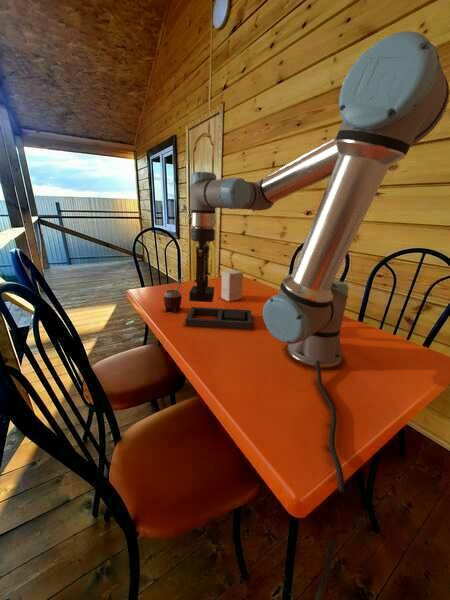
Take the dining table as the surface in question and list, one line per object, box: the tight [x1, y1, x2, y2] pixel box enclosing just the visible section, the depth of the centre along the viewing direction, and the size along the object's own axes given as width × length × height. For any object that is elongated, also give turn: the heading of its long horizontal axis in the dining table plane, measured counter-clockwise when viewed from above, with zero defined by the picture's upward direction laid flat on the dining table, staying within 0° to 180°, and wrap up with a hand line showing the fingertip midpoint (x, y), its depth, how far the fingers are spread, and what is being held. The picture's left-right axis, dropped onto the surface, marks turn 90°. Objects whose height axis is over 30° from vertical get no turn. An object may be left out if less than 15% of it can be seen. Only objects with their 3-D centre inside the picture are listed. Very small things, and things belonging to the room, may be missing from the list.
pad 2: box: [223, 310, 246, 321], centre depth 96 cm, size 8×8×3 cm
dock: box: [185, 306, 253, 331], centre depth 96 cm, size 13×24×2 cm, turn 87°
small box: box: [220, 269, 244, 302], centre depth 120 cm, size 8×6×13 cm
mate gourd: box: [163, 275, 187, 314], centre depth 102 cm, size 8×8×15 cm
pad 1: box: [188, 285, 215, 303], centre depth 86 cm, size 8×8×3 cm
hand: (202, 297), depth 87 cm, fingers closed on pad 1, 7 cm apart
